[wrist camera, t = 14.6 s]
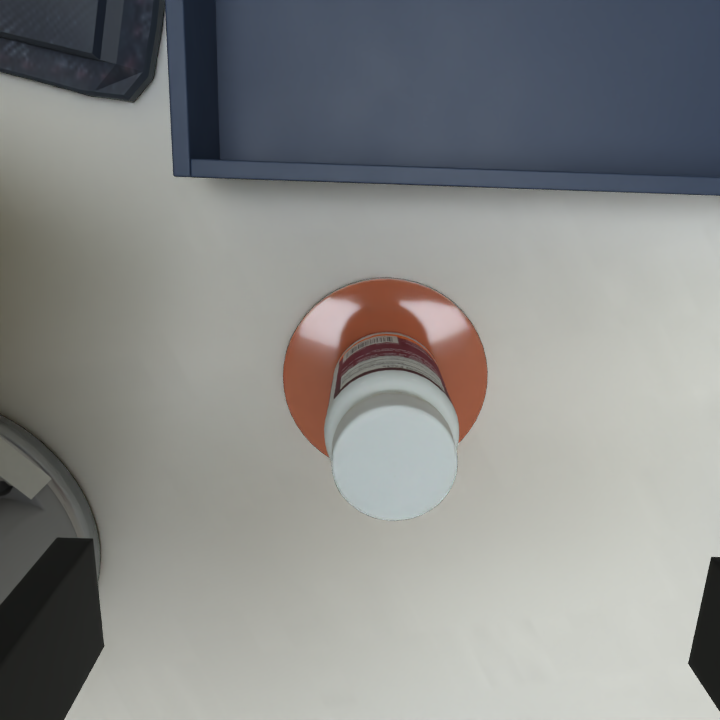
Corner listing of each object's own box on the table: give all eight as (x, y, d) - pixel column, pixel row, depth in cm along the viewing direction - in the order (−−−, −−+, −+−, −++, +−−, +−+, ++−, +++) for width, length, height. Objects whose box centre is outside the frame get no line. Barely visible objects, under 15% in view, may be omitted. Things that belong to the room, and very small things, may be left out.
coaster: (284, 466, 30) (283, 469, 29) (283, 273, 27) (282, 275, 27) (477, 473, 30) (478, 476, 29) (495, 281, 27) (496, 282, 27)
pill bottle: (416, 446, 29) (435, 552, 21) (317, 410, 28) (298, 504, 20) (458, 351, 28) (495, 425, 19) (355, 313, 27) (350, 372, 19)
